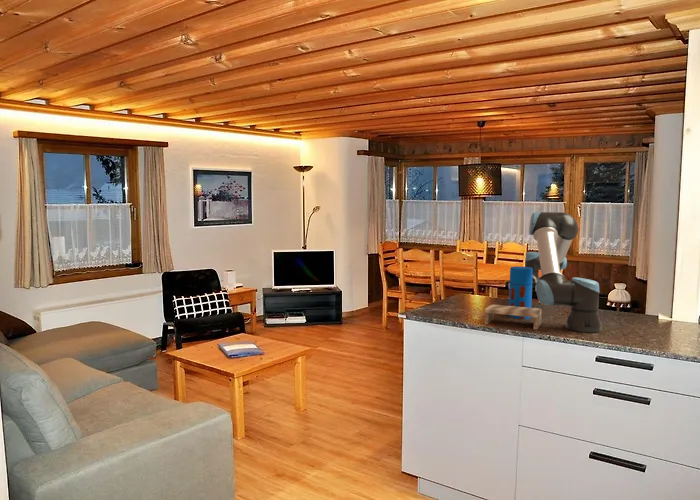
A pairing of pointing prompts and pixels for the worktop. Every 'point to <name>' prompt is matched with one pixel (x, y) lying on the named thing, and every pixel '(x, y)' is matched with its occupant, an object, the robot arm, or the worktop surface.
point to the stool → (513, 313)
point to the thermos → (520, 288)
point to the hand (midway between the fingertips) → (522, 287)
